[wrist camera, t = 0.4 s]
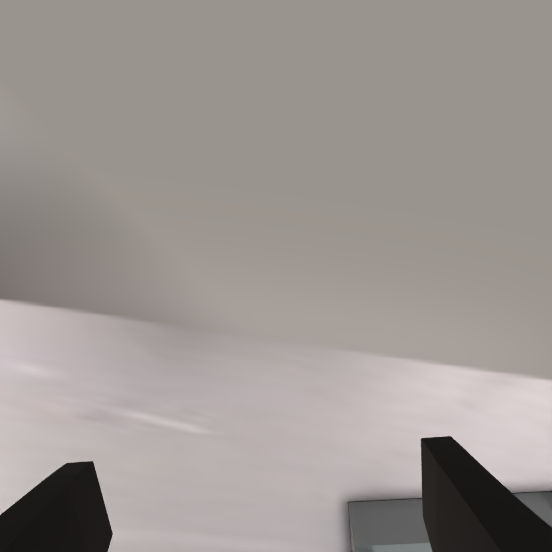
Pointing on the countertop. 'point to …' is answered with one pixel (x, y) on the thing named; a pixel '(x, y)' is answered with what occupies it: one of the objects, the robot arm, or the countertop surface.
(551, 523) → the tray
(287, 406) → the countertop surface
